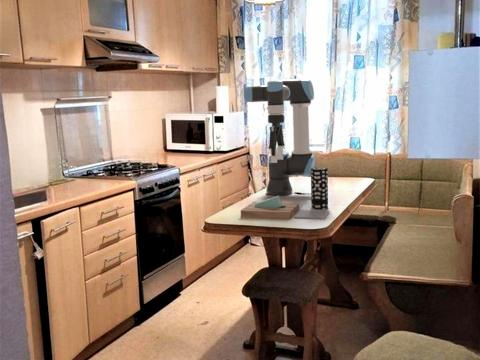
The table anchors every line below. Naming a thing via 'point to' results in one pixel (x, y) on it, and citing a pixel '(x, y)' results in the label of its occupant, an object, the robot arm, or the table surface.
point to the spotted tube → (319, 188)
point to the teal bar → (270, 203)
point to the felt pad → (312, 214)
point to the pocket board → (271, 211)
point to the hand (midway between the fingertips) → (277, 161)
